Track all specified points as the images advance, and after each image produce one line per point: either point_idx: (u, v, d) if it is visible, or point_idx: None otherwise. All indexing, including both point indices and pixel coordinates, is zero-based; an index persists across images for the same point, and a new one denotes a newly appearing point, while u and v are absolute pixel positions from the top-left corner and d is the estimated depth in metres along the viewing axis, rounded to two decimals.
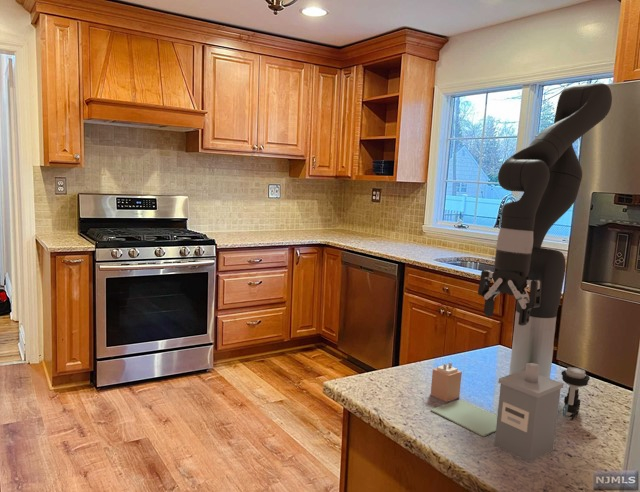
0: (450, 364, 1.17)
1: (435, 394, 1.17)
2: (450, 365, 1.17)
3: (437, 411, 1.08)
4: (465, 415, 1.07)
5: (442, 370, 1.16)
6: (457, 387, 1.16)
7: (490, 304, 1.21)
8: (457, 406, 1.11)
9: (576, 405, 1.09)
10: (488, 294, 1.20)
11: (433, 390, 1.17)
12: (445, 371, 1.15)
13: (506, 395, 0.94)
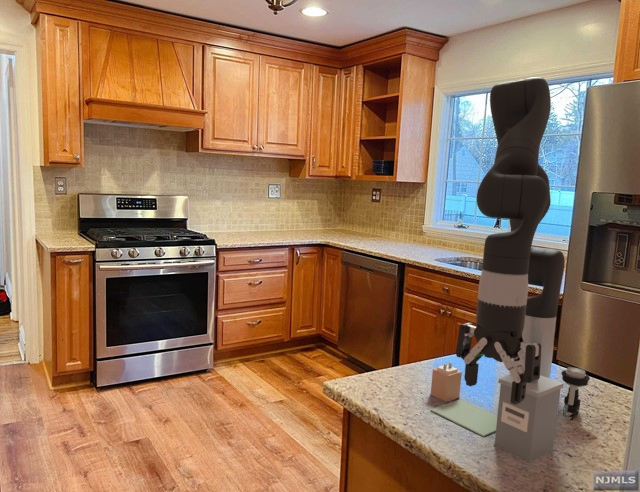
0: (450, 364, 1.17)
1: (435, 394, 1.17)
2: (450, 365, 1.17)
3: (437, 411, 1.08)
4: (465, 415, 1.07)
5: (442, 370, 1.16)
6: (457, 387, 1.16)
7: (472, 370, 0.89)
8: (457, 406, 1.11)
9: (576, 405, 1.09)
10: (469, 357, 0.89)
11: (433, 390, 1.17)
12: (445, 371, 1.15)
13: (506, 395, 0.94)
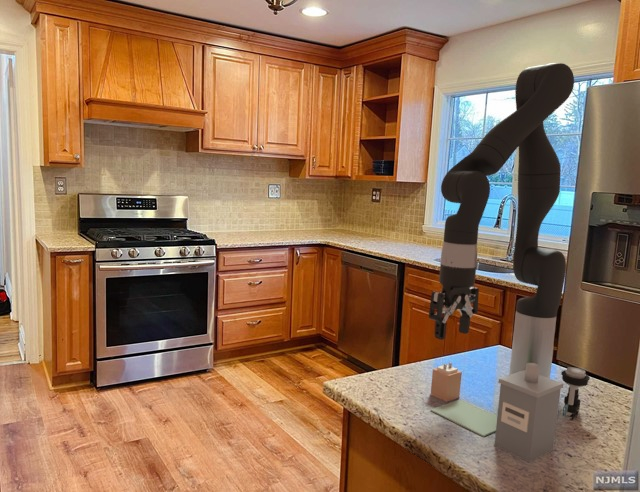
0: (450, 364, 1.17)
1: (435, 394, 1.17)
2: (450, 365, 1.17)
3: (437, 411, 1.08)
4: (465, 415, 1.07)
5: (442, 370, 1.16)
6: (457, 387, 1.16)
7: (462, 320, 1.17)
8: (457, 406, 1.11)
9: (576, 405, 1.09)
10: None
11: (433, 390, 1.17)
12: (445, 371, 1.15)
13: (506, 395, 0.94)
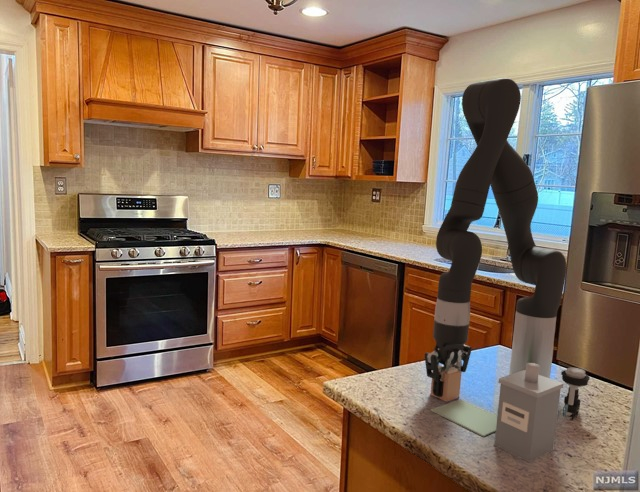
0: None
1: None
2: (450, 365, 1.17)
3: (437, 411, 1.08)
4: (465, 415, 1.07)
5: None
6: (456, 387, 1.16)
7: None
8: (457, 406, 1.11)
9: (576, 405, 1.09)
10: None
11: None
12: None
13: (506, 395, 0.94)
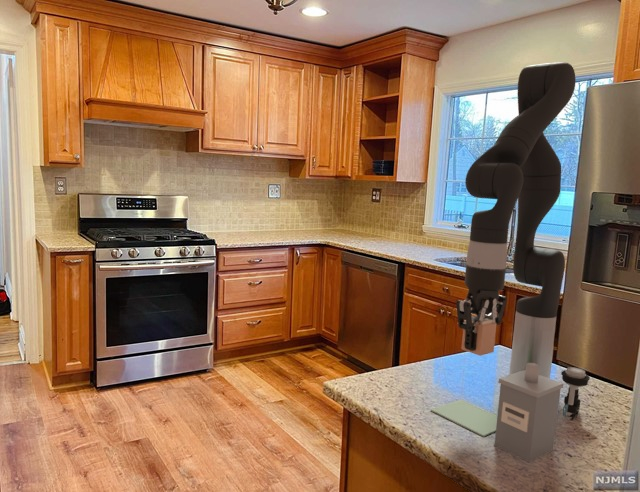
0: None
1: None
2: None
3: (437, 411, 1.08)
4: (465, 415, 1.07)
5: None
6: (491, 340, 1.04)
7: None
8: (457, 406, 1.11)
9: (576, 405, 1.09)
10: None
11: (464, 344, 1.05)
12: None
13: (506, 395, 0.94)
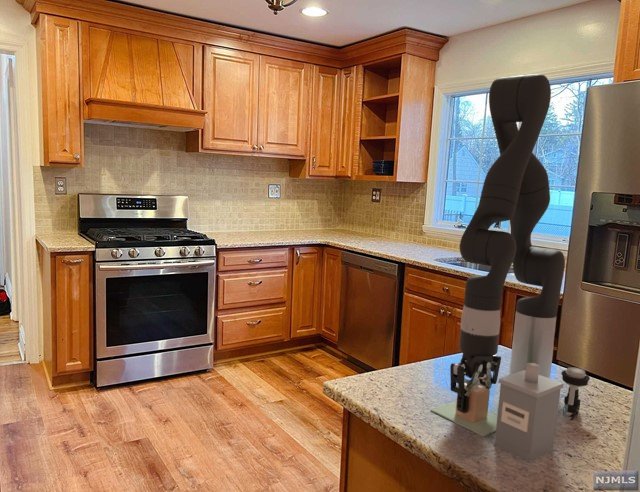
0: (477, 381, 1.06)
1: (461, 414, 1.06)
2: (477, 382, 1.06)
3: (437, 411, 1.08)
4: None
5: None
6: (484, 407, 1.06)
7: None
8: None
9: (576, 405, 1.09)
10: None
11: None
12: (472, 389, 1.05)
13: (506, 395, 0.94)
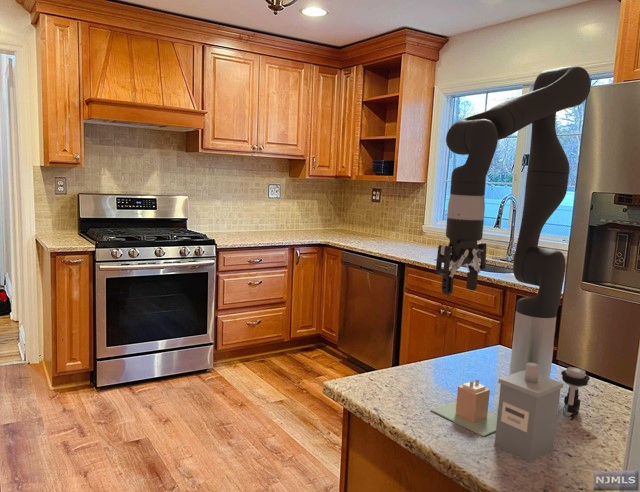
0: (477, 381, 1.06)
1: (461, 414, 1.06)
2: (477, 382, 1.06)
3: (437, 411, 1.08)
4: None
5: (469, 388, 1.05)
6: (484, 407, 1.06)
7: (469, 276, 1.15)
8: None
9: (576, 405, 1.09)
10: None
11: (458, 409, 1.07)
12: (472, 389, 1.05)
13: (506, 395, 0.94)
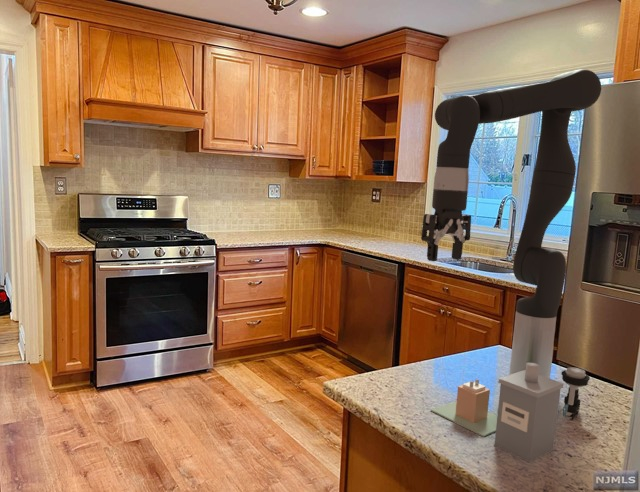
0: (477, 381, 1.06)
1: (461, 414, 1.06)
2: (477, 382, 1.06)
3: (437, 411, 1.08)
4: None
5: (469, 388, 1.05)
6: (484, 407, 1.06)
7: (454, 246, 1.21)
8: None
9: (576, 405, 1.09)
10: None
11: (458, 409, 1.07)
12: (472, 389, 1.05)
13: (506, 395, 0.94)
